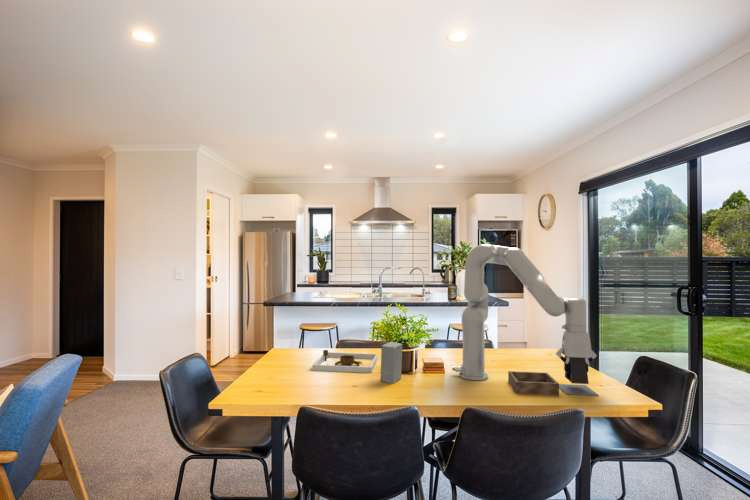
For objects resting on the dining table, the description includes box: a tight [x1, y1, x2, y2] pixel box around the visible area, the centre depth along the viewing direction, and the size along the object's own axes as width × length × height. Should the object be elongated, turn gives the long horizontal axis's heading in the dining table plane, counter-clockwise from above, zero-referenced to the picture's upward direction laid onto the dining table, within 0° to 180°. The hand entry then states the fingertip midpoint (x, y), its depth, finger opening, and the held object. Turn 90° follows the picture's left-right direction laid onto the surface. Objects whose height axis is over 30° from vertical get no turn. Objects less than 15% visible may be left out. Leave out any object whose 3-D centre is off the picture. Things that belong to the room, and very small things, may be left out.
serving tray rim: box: [312, 351, 379, 374], centre depth 197 cm, size 28×26×2 cm
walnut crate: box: [507, 370, 560, 396], centre depth 163 cm, size 16×15×4 cm
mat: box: [559, 383, 599, 397], centre depth 161 cm, size 12×12×1 cm
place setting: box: [322, 349, 364, 366], centre depth 199 cm, size 18×20×6 cm
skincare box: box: [380, 341, 403, 385], centre depth 172 cm, size 8×7×16 cm
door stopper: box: [564, 358, 589, 385], centre depth 161 cm, size 9×6×12 cm, turn 172°
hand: (576, 372), depth 161 cm, fingers closed on door stopper, 6 cm apart
